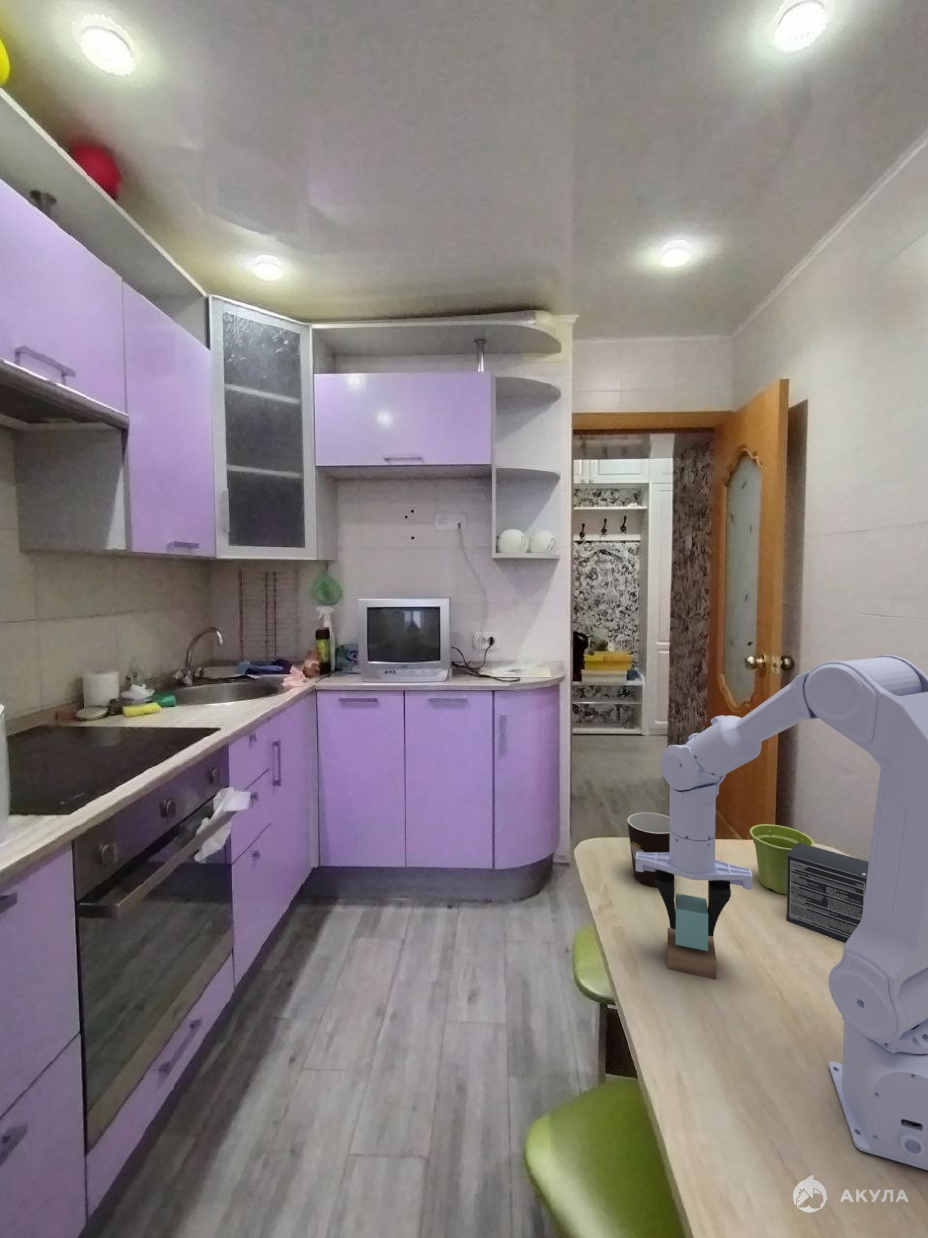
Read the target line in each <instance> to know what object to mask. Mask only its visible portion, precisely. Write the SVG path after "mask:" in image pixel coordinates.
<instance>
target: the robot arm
mask: <svg viewBox="0 0 928 1238" xmlns="http://www.w3.org/2000/svg"><path fill="white" fill-rule="evenodd" d="M815 719H820V721H822V722H824V724H826V725H828V726H829V727H830V728H831V729H833V730H836V732H837V733H839V734H840V735H842V736H844V737H846V738H847V739H848V740H850V741H851V742H852V743H854V744H855V745H857V746H859V747H860V748H861V749H863V750H864V751H866V752H867V753H868V754H869V755H870V756H871V757H872V758H873V759H874V760H875V761H876V762H877V763H878V765H879V766H880V772H879V779H878V788H877V789H878V790H877V795H876V804H875V812H874V817H873V818H874V820H873V825H872V826H873V828H872V836H871V843H870V849H869V850H870V851H869V852H870V853H869V858H868V862H869V865H868V873H867V881H866V889H865V897H864V905H863V913H862V920H861V922H860V923H859V925H858V926H857V928H856V929H855V930H854V932H853V933H852V935H851V936H850V937H849V939H848V940H847V942H844V943H845V944H844V945H843V949H842V956H841V958H840V961H839V962H838V963H837V964H836V965H834V966H833V967H832V969H831V970H830V972H829V973H828V974H829V975H828V979H827V980H828V989H829V993H830V995H831V999H832V1000H833V1003H834V1004H835V1006H836V1008H837V1010H838V1012H839V1013H840V1015H841V1017H842V1018H841V1019H842V1020H843V1027H842V1028H843V1031H842V1032H843V1033H842V1034H843V1035H842V1063H839V1062H836V1061H829V1062H828V1069H829V1072H830V1074H831V1078H832V1080H833V1084H834V1087H835V1089H836V1093H837V1095H838V1099H839V1103H840V1104H841V1107H842V1110H843V1113H844V1117H845V1119H846V1122H847V1125H848V1128H849V1132H850V1135H851V1136H852V1137H851V1138H852V1140H853V1144H854V1146H855V1147H856V1148H857V1149H858V1150H859V1151H861V1152H865V1153H868V1154H871V1155H875V1156H878V1157H882V1158H885V1159H889V1160H892V1161H896V1162H899V1163H902V1164H905V1165H907V1166H908V1165H909V1166H912V1167H915V1168H919V1169H923V1170H926V1171H928V676H927V674H925V672H923V671H922V670H921V669H920V668H918V666H917V665H915V664H914V663H912V662H911V661H909V659H908V660H907V659H906V658H904V657H902V656H901V657H900V656H897V655H891V654H884V655H878V656H874V657H871V658H870V657H869V658H861V659H852V660H851V659H850V660H828V661H825V662H821V663H819V664H818V665H816V666H814V667H813V669H811V670H810V671H806V672H804V673H801V674H798V675H797V676H796V677H794V679H793V680H792V681H790V683H789V684H787V685H786V686H784V687H783V688H781V689H780V690H779V691H777V692H776V693H775V694H773V695H772V696H771V697H769V698H767V699H766V700H765V701H764V702H762V703H761V704H760V705H759V704H758V706H757V707H755V708H754V709H752V710H751V711H750V712H748V713H747V714H745V716H743V717H739V716H737V715H723V714H722V715H717V716H714V717H713V718H711V719H710V723H711V725H710V726H709V727H707V728H705V730H702V731H701V732H700V733H699V732H696V733H692V734H691V735H689V736H688V741H687V742H686V743H685V744H680V745H679V744H670V745H668V746H667V748H666V749H664V751H663V752H662V754H661V756H660V762H659V763H660V764H659V765H660V770H661V771H660V772H661V775H662V777H663V779H664V780H665V782H666V783H667V784H668V786H669V817H670V853H645V852H636V871H639V872H644V870H647V871H653V872H655V883H656V886H657V888H656V889H657V890H658V892H659V894H660V896H661V898H662V900H663V903H664V906H665V909H666V912H667V916H668V921H669V927H670V929H675V930H676V917H675V876H678V877H681V878H685V879H686V880H687V879H688V880H693V881H707V886H708V887H707V890H708V891H707V893H708V894H707V897H708V898H707V899H708V900H707V908H708V936H712V937H713V938H714V935H715V929H716V926H717V922H718V920H719V918H720V915H721V912H723V910H724V908H725V906H726V905H727V904H728V902H729V901H730V899H731V897H732V896H731V895H732V890H731V885H734V886H735V885H736V886H742V888H743V889H745V890H753V877H754V876H753V872H752V870H751V868H748V867H742V866H739V865H735V864H732V863H728V862H725V861H722V860H718V859H716V799H717V796H718V795H719V794H720V792H719V791H720V786H721V785H720V784H721V783H722V782H723V781H725V779H726V776H727V774H729V773H730V772H732V771H735V770H737V769H738V768H739V767H741V766H743V765H745V764H748V763H749V762H751V761H753V760H755V759H756V758H758V757H759V756H760V754H761V751H762V742H763V741H766V740H768V739H769V738H771V737H774V736H776V735H777V734H778V735H779V733H781V732H783V731H785V730H787V729H789V728H791V727H793V726H795V725H798V724H800V723H802V722H803V721H806V720H815Z"/></svg>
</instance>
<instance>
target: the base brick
mask: <svg viewBox="0 0 928 1238" xmlns="http://www.w3.org/2000/svg"><path fill="white" fill-rule="evenodd" d="M717 968H718V964H717V954H716V946H715V940H714V936H713V937H712V936H708V951H705V950H700V949H695V948H690V947H685V946H680V945H676V937H675V929H671V928H669V927H667V969H668V970H672V971H676V972H681V973H687V974H689V975H691V974H692V975H695V976H700V977H704V978H709V979H714V980H717V977H718V976H717V975H718V974H717V973H718V969H717Z"/></svg>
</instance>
